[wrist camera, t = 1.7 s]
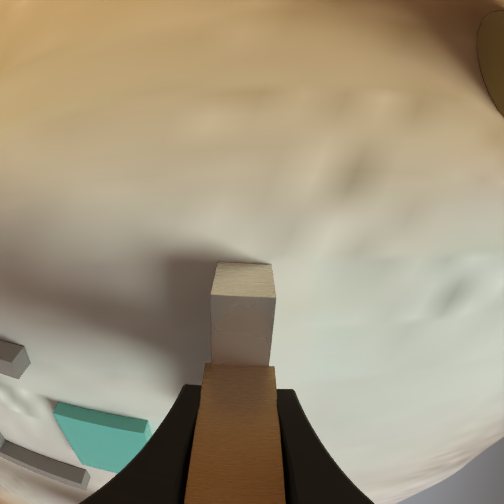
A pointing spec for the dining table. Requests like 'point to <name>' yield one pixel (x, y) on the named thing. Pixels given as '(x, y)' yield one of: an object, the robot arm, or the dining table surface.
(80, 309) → the dining table surface
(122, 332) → the dining table surface
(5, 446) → the frame
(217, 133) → the dining table surface
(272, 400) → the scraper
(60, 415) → the tile
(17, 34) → the dining table surface
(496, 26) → the cork
